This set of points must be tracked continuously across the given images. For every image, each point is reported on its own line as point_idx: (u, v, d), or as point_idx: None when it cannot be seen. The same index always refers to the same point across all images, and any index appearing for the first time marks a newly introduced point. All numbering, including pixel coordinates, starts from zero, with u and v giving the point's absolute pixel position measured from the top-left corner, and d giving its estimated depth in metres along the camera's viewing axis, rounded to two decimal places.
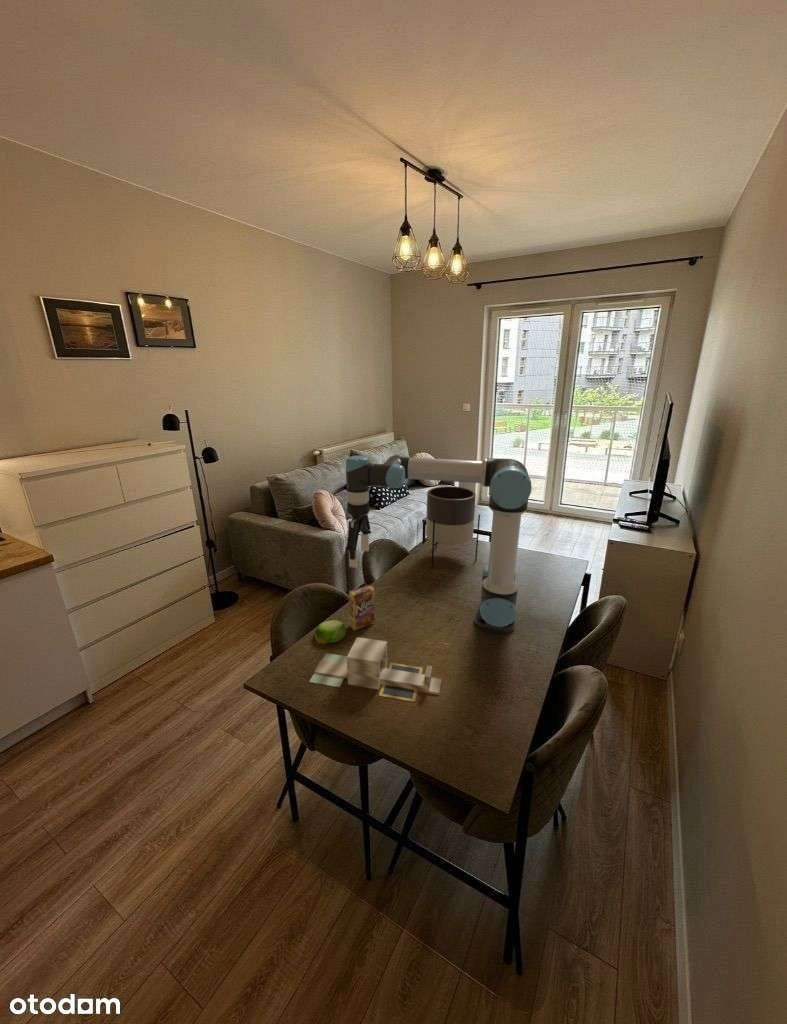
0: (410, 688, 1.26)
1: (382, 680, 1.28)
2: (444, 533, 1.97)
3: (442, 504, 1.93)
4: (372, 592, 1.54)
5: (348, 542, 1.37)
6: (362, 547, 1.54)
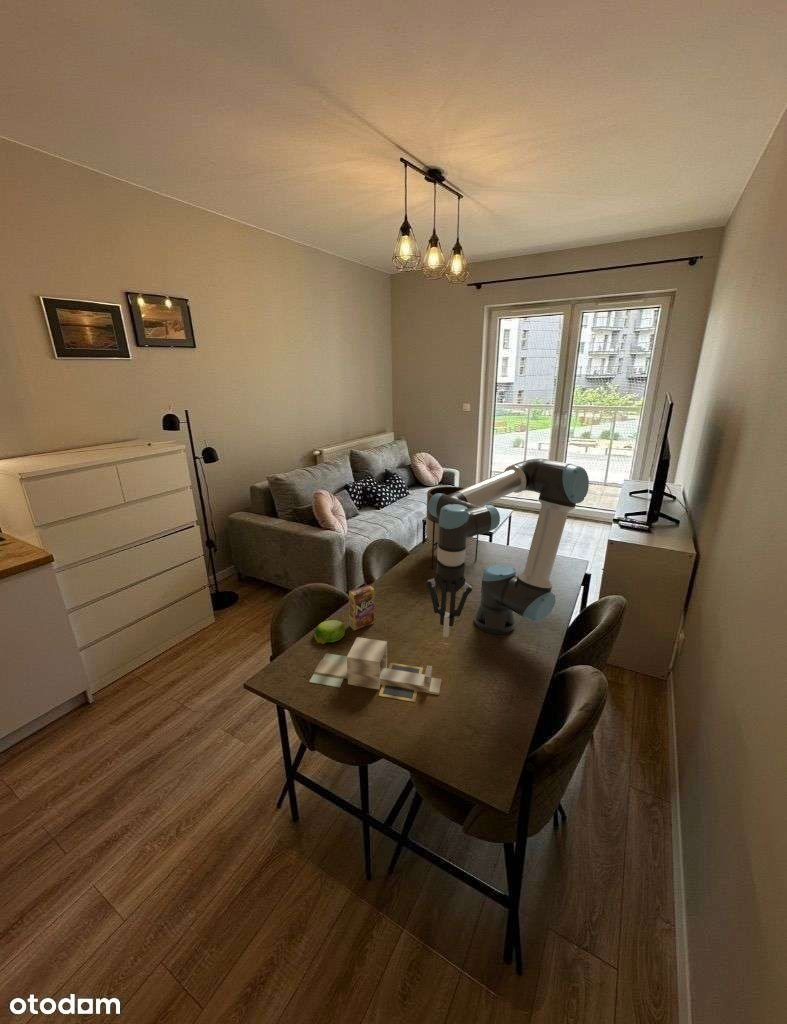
0: (410, 688, 1.26)
1: (382, 680, 1.28)
2: None
3: None
4: (372, 592, 1.54)
5: None
6: None
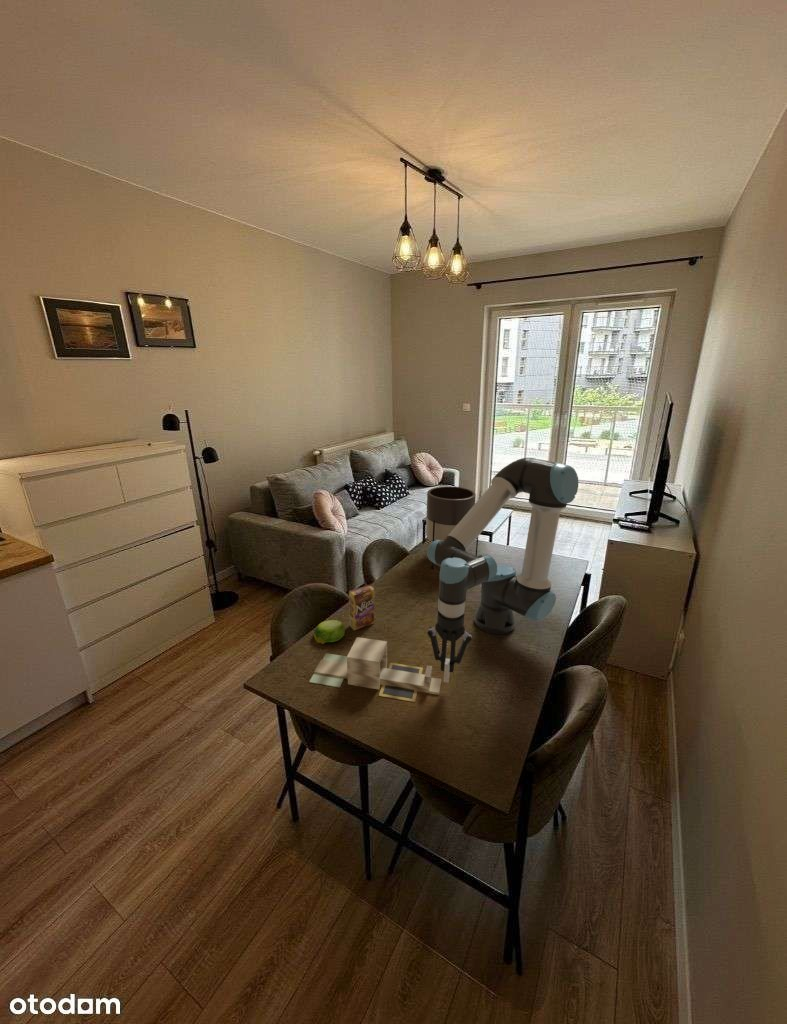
0: (410, 688, 1.26)
1: (382, 680, 1.28)
2: (444, 533, 1.97)
3: (442, 504, 1.93)
4: (372, 592, 1.54)
5: None
6: None
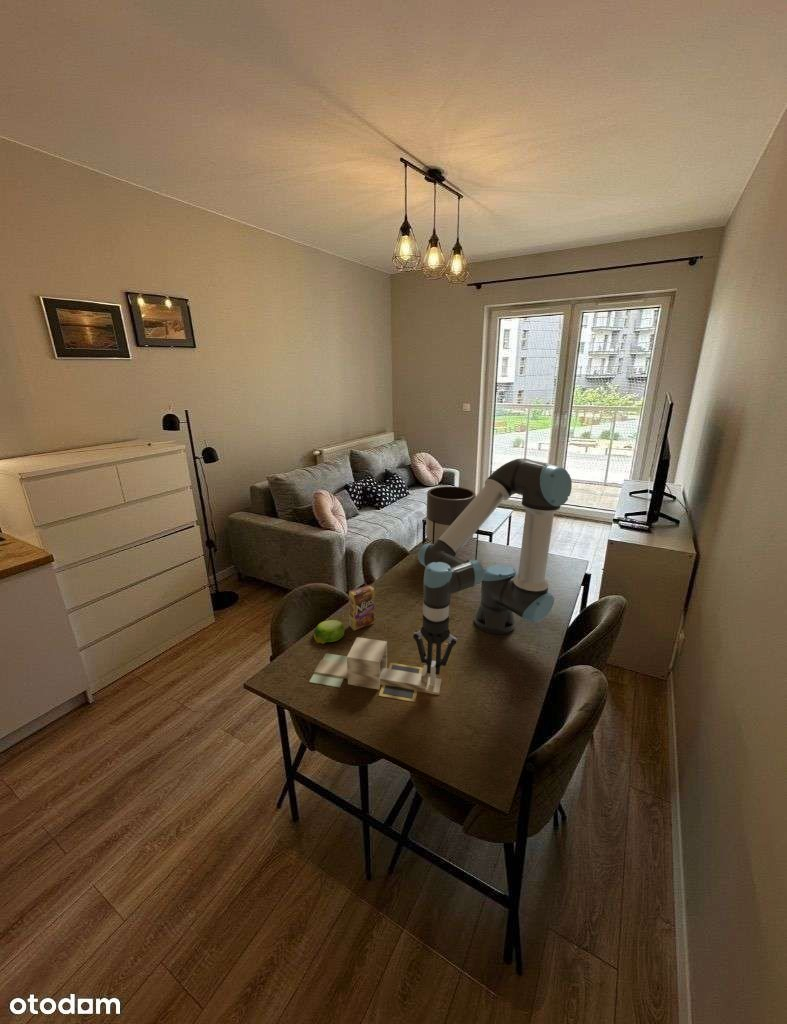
0: (410, 688, 1.26)
1: None
2: None
3: (442, 504, 1.93)
4: (372, 592, 1.54)
5: None
6: None
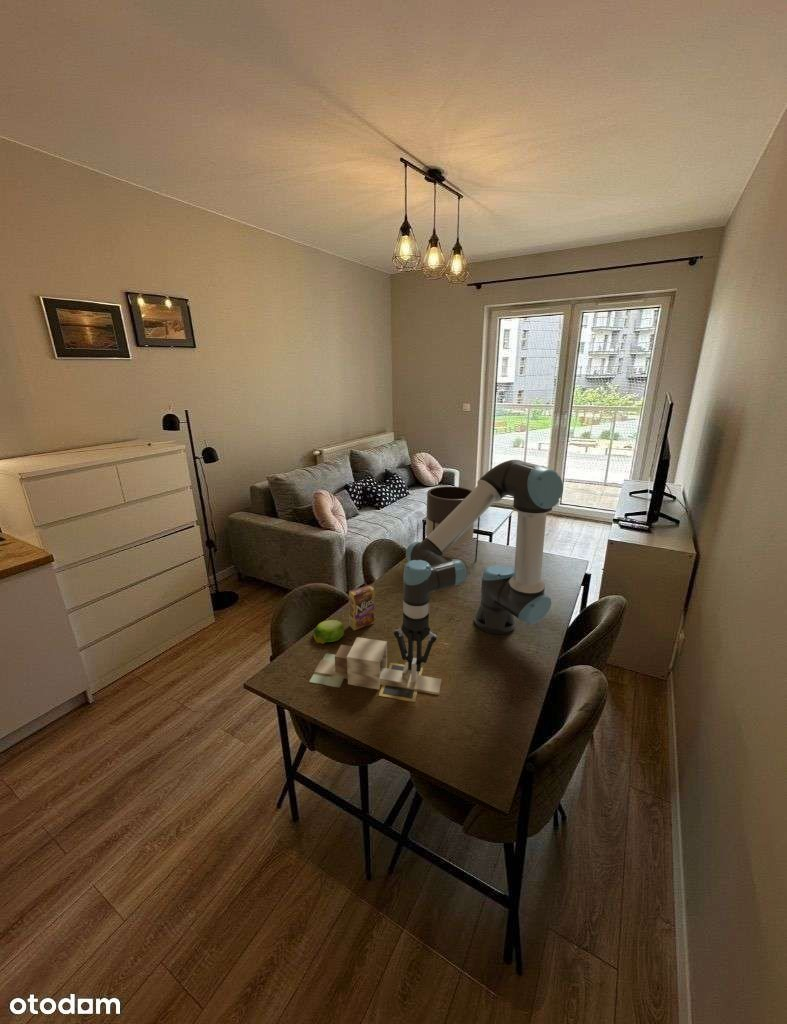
0: (410, 688, 1.26)
1: None
2: None
3: (442, 504, 1.93)
4: (372, 592, 1.54)
5: None
6: None
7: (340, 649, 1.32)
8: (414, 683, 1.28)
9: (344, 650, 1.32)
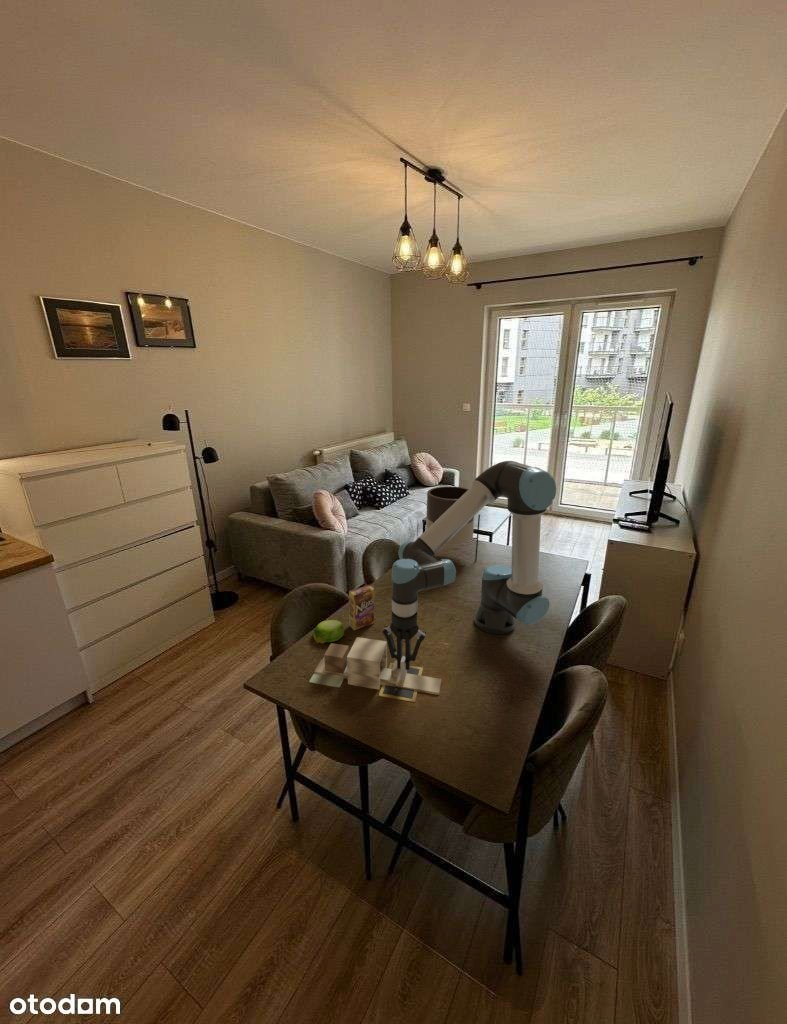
0: (410, 688, 1.26)
1: None
2: None
3: (442, 504, 1.93)
4: (372, 592, 1.54)
5: None
6: None
7: (330, 648, 1.33)
8: (414, 683, 1.28)
9: (334, 649, 1.32)
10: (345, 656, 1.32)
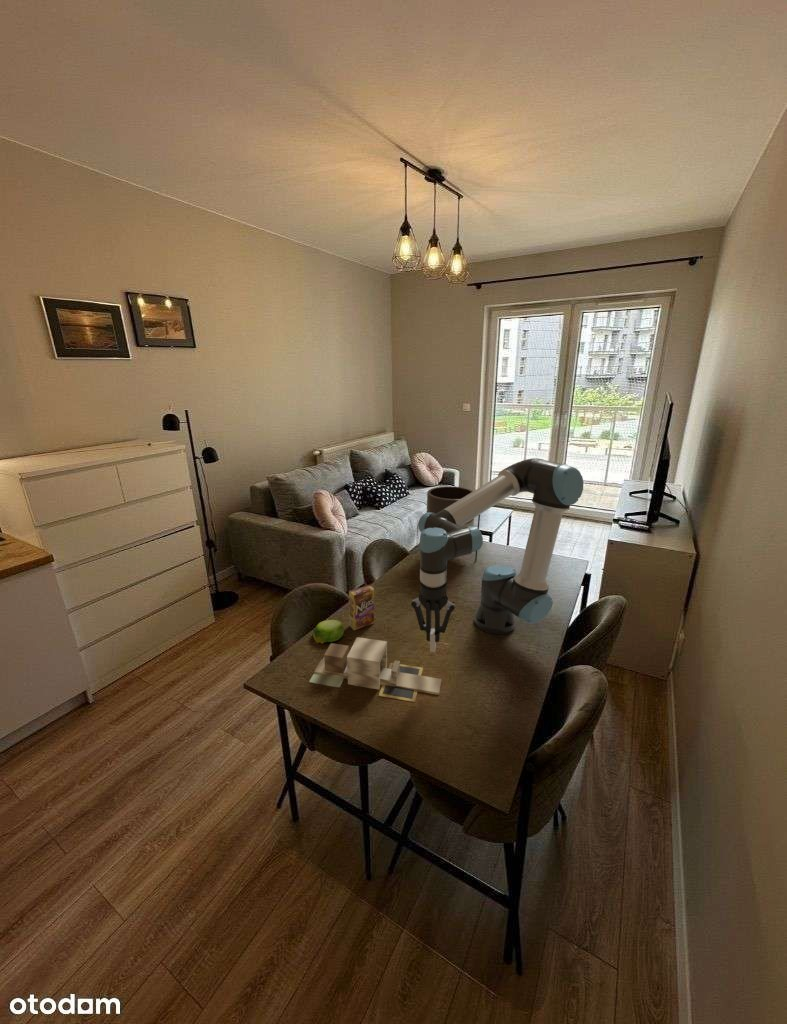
0: (410, 688, 1.26)
1: None
2: None
3: (442, 504, 1.93)
4: (372, 592, 1.54)
5: None
6: None
7: (330, 648, 1.33)
8: (414, 683, 1.28)
9: (334, 649, 1.32)
10: (345, 656, 1.32)
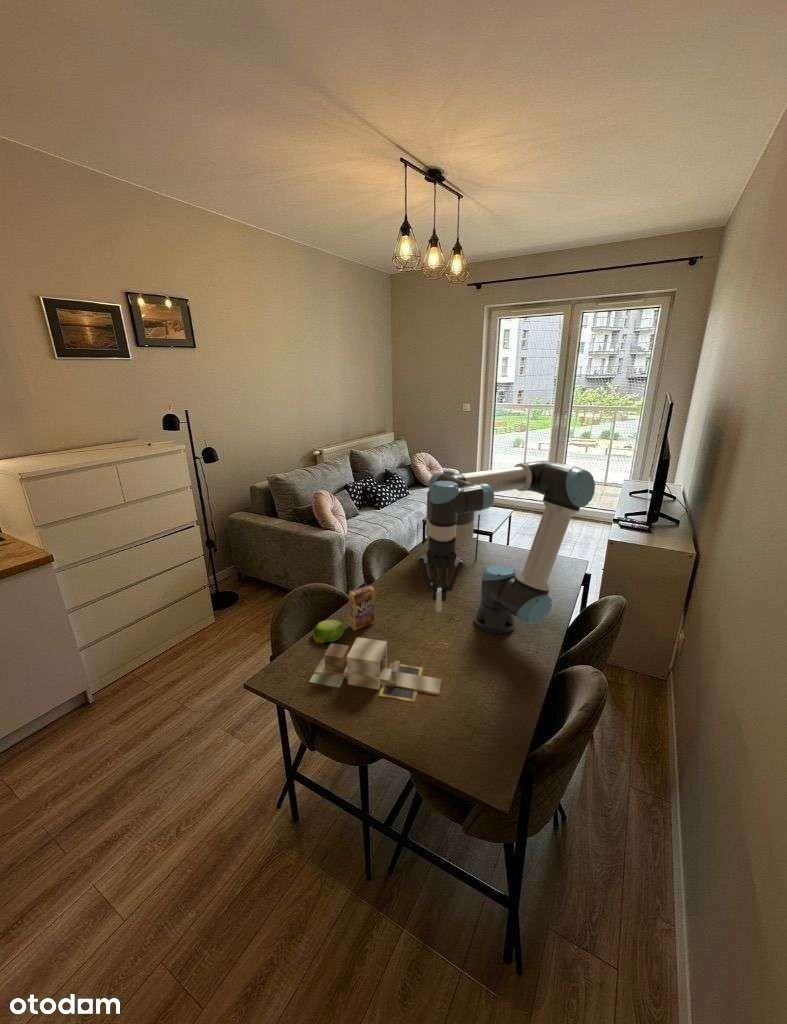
0: (410, 688, 1.26)
1: None
2: None
3: None
4: (372, 592, 1.54)
5: None
6: None
7: (330, 648, 1.33)
8: (414, 683, 1.28)
9: (334, 649, 1.32)
10: (345, 656, 1.32)
